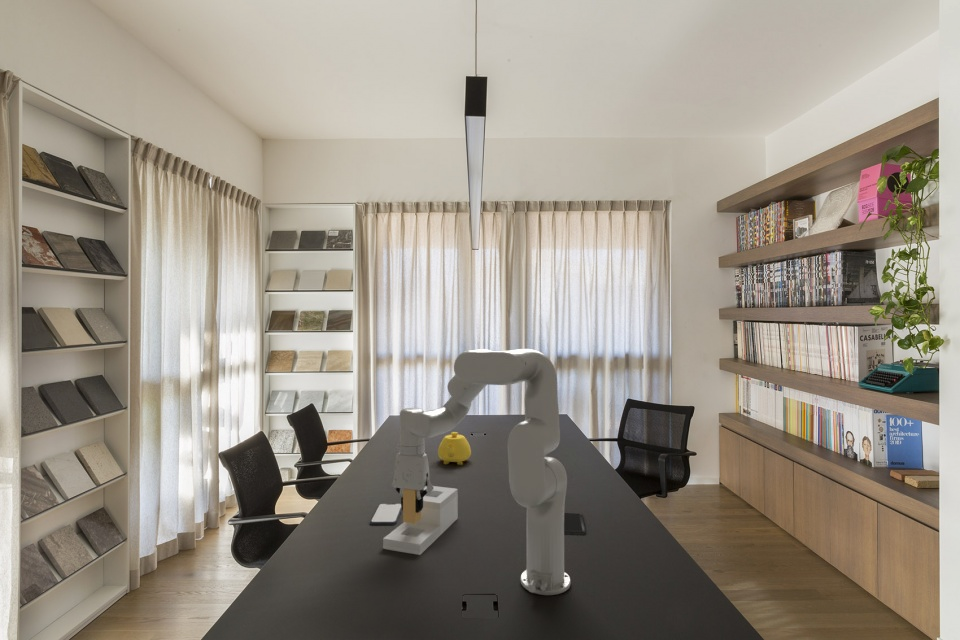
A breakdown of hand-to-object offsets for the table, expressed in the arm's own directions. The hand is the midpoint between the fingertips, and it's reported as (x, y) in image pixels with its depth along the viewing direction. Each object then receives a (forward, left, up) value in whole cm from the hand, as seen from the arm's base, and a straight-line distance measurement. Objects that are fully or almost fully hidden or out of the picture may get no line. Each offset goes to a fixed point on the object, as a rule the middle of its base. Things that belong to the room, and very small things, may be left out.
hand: (412, 509), depth 155 cm
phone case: (+15, +18, -10) cm, 26 cm away
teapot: (+81, +21, -10) cm, 84 cm away
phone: (+29, -43, -10) cm, 53 cm away
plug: (0, 0, -3) cm, 3 cm away
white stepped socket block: (+7, 0, -10) cm, 12 cm away
